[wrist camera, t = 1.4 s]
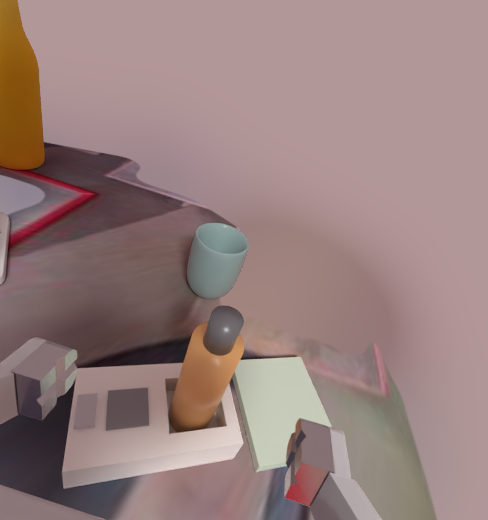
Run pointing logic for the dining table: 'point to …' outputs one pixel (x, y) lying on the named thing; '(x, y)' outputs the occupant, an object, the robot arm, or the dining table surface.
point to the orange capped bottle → (207, 370)
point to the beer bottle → (18, 95)
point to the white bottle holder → (138, 426)
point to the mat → (274, 405)
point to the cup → (215, 259)
